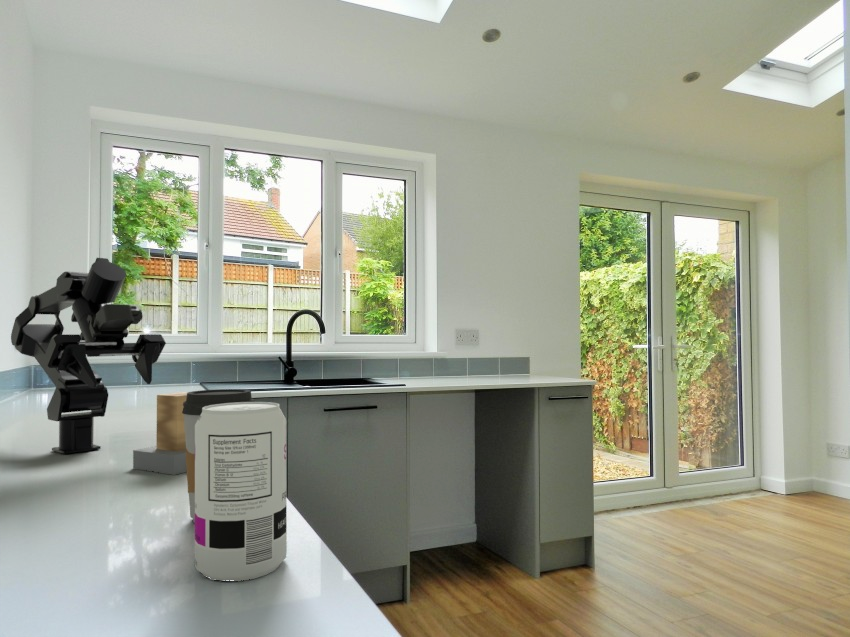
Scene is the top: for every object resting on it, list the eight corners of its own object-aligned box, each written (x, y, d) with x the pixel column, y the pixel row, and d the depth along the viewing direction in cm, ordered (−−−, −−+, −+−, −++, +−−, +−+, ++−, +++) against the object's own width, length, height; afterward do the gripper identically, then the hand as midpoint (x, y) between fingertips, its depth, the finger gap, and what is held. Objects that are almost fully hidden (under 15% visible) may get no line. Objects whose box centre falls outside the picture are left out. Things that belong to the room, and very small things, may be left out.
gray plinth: (133, 468, 96) (133, 450, 96) (184, 457, 105) (184, 440, 105) (173, 474, 91) (174, 455, 91) (223, 462, 100) (223, 445, 100)
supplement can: (175, 574, 53) (175, 409, 53) (243, 545, 60) (242, 399, 60) (240, 592, 49) (240, 413, 49) (304, 558, 56) (303, 403, 57)
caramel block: (156, 448, 97) (156, 394, 97) (181, 443, 101) (182, 392, 102) (176, 451, 95) (177, 396, 95) (201, 446, 99) (201, 393, 99)
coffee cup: (241, 529, 65) (242, 395, 65) (168, 529, 65) (168, 395, 66) (264, 507, 73) (264, 388, 74) (198, 507, 73) (199, 388, 74)
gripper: (52, 286, 97) (78, 353, 90) (161, 292, 111) (191, 350, 104) (34, 333, 101) (58, 401, 94) (141, 333, 116) (169, 392, 109)
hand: (123, 384), depth 100 cm, fingers open, 9 cm apart
